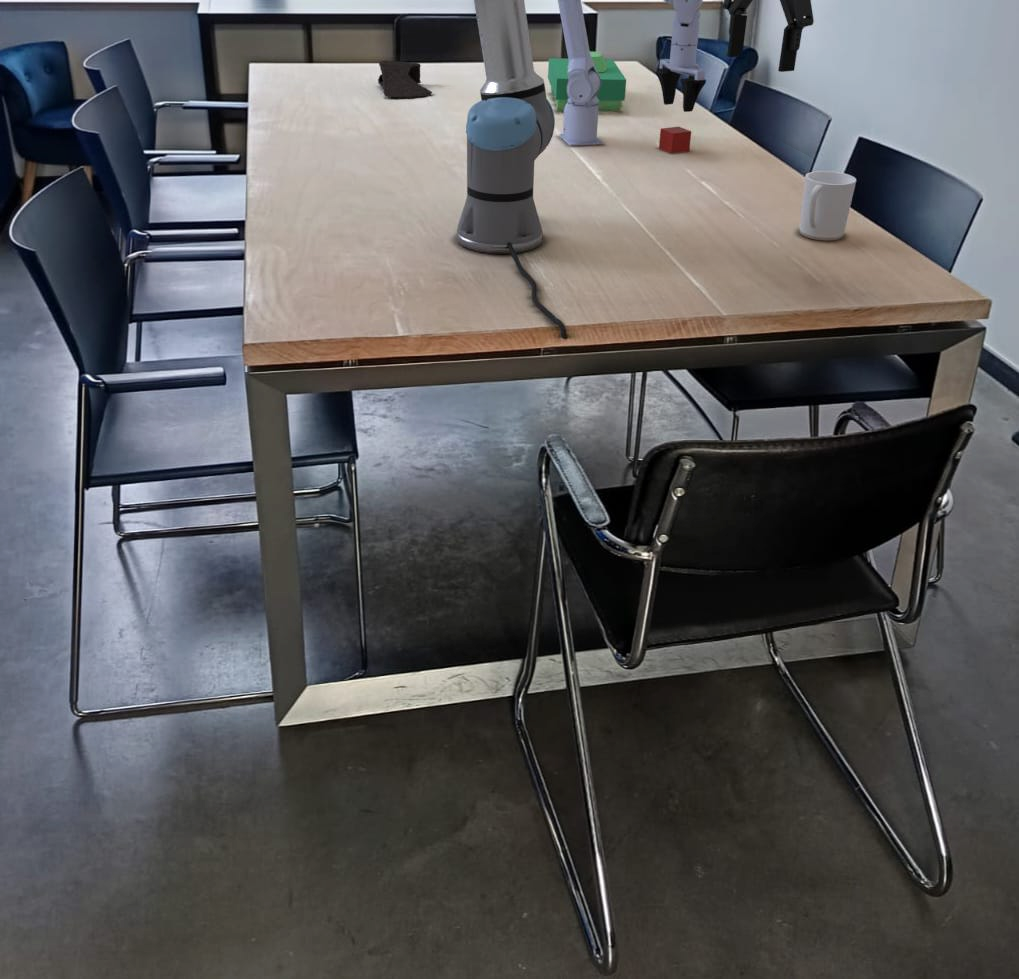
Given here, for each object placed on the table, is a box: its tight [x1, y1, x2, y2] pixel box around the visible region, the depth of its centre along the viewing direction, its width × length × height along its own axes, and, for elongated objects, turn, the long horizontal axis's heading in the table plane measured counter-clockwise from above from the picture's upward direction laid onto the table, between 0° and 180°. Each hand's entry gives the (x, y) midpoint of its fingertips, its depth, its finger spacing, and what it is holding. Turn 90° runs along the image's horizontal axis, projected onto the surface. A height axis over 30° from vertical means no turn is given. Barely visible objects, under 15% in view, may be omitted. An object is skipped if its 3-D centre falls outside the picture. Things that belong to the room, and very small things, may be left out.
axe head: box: [377, 59, 433, 99], centre depth 299 cm, size 18×8×15 cm
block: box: [658, 126, 692, 154], centre depth 251 cm, size 5×5×4 cm
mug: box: [798, 170, 857, 241], centre depth 199 cm, size 11×9×10 cm
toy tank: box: [547, 50, 627, 112], centre depth 293 cm, size 18×12×35 cm
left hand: (759, 63), depth 184 cm, fingers open, 13 cm apart
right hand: (678, 107), depth 248 cm, fingers open, 7 cm apart
